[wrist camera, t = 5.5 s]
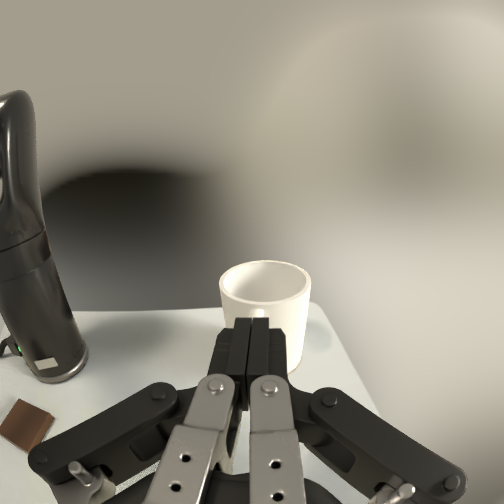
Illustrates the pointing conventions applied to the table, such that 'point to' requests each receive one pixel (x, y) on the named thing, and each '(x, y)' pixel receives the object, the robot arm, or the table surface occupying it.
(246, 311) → the mug
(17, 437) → the coaster
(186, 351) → the table surface
